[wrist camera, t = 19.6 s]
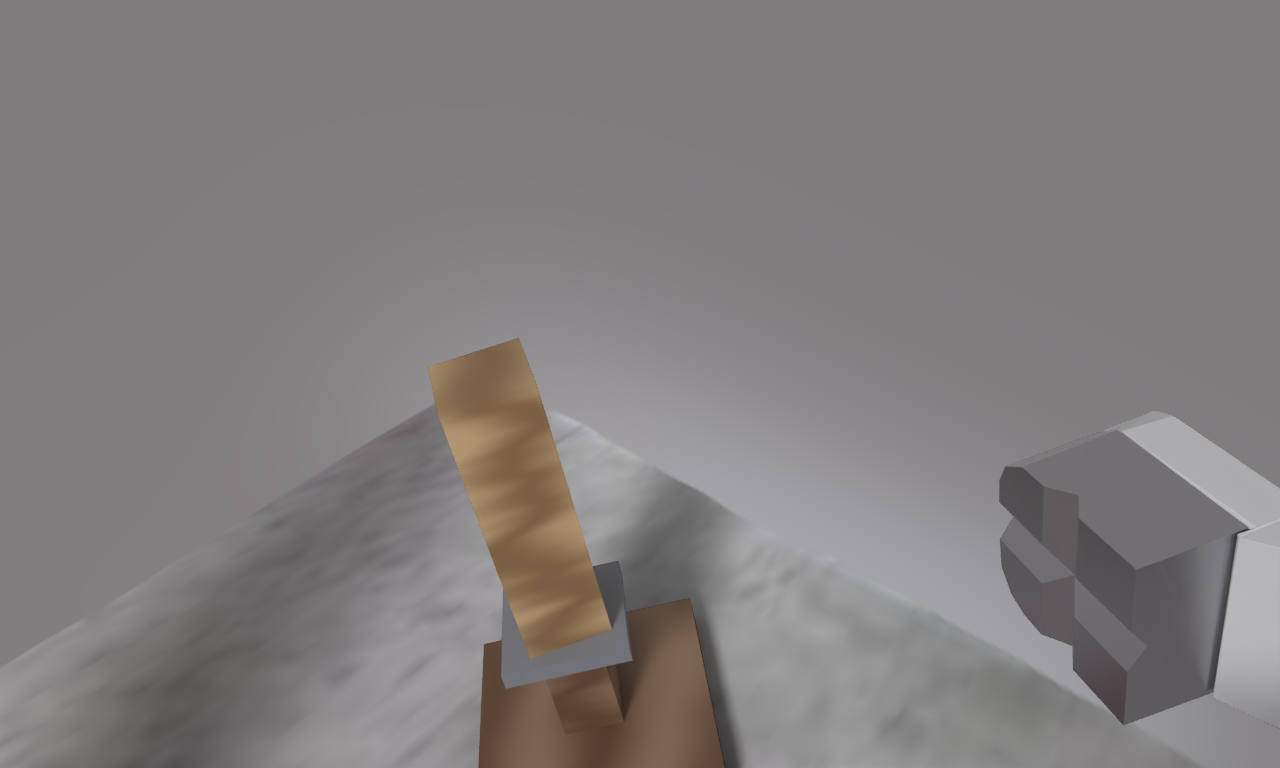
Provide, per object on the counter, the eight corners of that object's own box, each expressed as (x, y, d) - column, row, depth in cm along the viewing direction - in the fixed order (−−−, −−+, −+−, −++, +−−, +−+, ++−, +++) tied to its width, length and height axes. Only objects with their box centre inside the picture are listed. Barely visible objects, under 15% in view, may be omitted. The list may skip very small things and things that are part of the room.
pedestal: (484, 853, 47) (432, 745, 43) (491, 662, 57) (449, 560, 53) (731, 798, 47) (703, 685, 42) (694, 616, 57) (668, 510, 53)
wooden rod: (530, 659, 46) (437, 413, 38) (515, 602, 49) (428, 366, 42) (612, 629, 46) (535, 381, 39) (592, 575, 50) (518, 338, 42)
